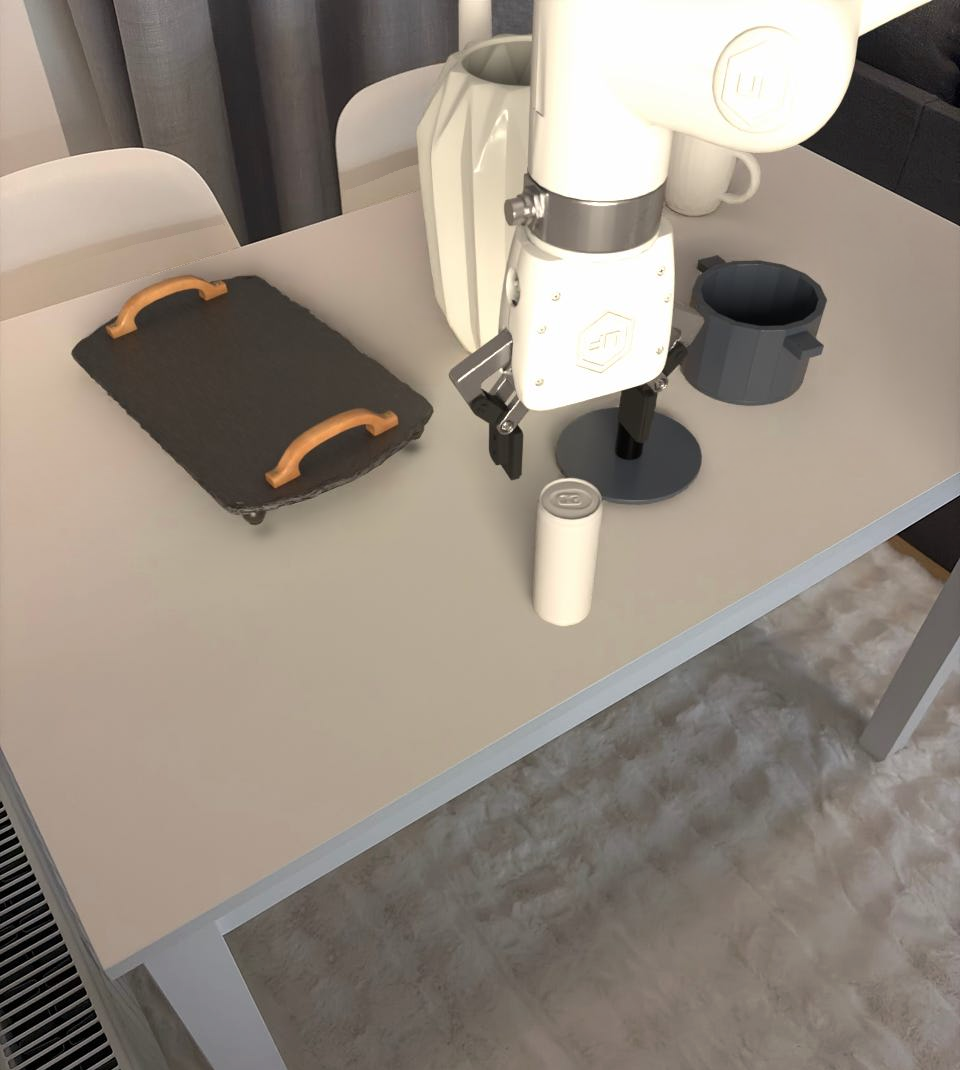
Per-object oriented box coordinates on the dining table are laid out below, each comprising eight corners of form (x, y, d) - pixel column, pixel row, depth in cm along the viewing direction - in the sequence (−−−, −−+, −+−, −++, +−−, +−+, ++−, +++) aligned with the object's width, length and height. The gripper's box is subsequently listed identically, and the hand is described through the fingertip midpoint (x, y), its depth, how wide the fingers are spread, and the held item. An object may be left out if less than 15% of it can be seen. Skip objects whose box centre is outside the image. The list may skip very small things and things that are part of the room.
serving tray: (62, 361, 101) (40, 308, 96) (248, 284, 110) (237, 232, 105) (255, 556, 82) (240, 503, 77) (461, 443, 91) (459, 389, 86)
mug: (643, 208, 120) (653, 125, 113) (678, 182, 125) (690, 100, 117) (733, 237, 116) (750, 153, 108) (766, 208, 120) (785, 125, 112)
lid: (653, 402, 95) (660, 353, 91) (728, 484, 87) (740, 435, 83) (531, 437, 92) (532, 389, 87) (597, 526, 84) (603, 478, 79)
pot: (744, 311, 105) (760, 237, 99) (845, 401, 95) (871, 325, 88) (645, 338, 102) (655, 264, 96) (738, 434, 92) (757, 358, 85)
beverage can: (592, 630, 76) (606, 521, 67) (532, 630, 76) (538, 521, 67) (589, 586, 79) (601, 476, 70) (531, 586, 79) (536, 476, 70)
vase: (429, 399, 96) (410, 110, 74) (429, 295, 108) (413, 21, 87) (620, 394, 96) (657, 103, 75) (599, 291, 108) (624, 16, 87)
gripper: (476, 269, 48) (477, 518, 61) (765, 203, 52) (707, 449, 65) (422, 203, 52) (434, 448, 65) (693, 147, 56) (652, 388, 70)
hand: (570, 448), depth 65 cm, fingers open, 9 cm apart
